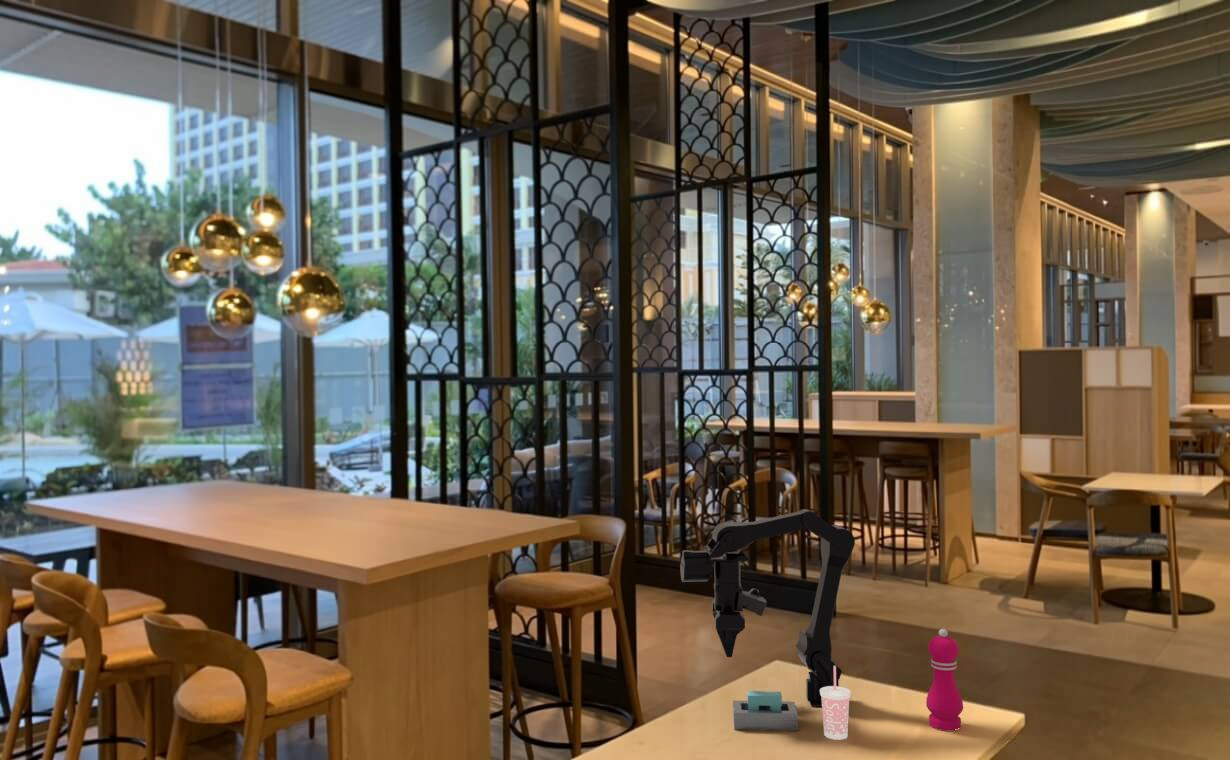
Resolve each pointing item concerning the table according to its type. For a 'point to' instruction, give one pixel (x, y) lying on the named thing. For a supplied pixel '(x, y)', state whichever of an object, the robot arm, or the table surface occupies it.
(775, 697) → the light blue rectangular block
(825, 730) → the beverage cup
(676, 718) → the table surface
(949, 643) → the pepper mill
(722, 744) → the table surface
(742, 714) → the grey slotted tray
